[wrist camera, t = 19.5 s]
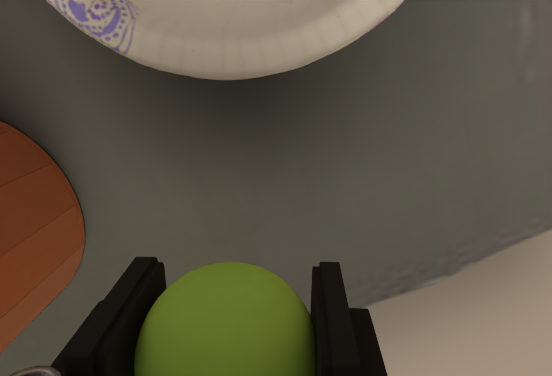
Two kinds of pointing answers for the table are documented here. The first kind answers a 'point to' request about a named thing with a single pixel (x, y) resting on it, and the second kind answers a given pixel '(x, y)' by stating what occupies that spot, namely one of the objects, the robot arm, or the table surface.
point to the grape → (227, 326)
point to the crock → (33, 232)
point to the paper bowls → (225, 32)
